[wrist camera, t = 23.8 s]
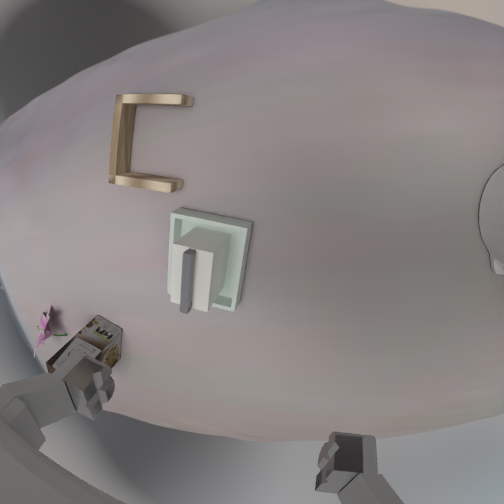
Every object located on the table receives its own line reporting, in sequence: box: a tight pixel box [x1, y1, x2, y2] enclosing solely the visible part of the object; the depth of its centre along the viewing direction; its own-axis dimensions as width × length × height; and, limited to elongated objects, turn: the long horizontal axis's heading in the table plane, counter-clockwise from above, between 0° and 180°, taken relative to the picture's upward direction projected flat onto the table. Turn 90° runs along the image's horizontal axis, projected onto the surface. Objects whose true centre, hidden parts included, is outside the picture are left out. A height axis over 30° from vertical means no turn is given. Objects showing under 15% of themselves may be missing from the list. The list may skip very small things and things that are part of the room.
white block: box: [171, 227, 231, 314], centre depth 38 cm, size 5×8×9 cm, turn 171°
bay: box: [109, 94, 193, 193], centre depth 36 cm, size 10×12×4 cm
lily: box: [34, 306, 68, 357], centre depth 54 cm, size 12×12×10 cm
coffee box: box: [46, 315, 122, 374], centre depth 47 cm, size 9×6×16 cm
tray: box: [168, 208, 253, 312], centre depth 41 cm, size 10×12×3 cm
